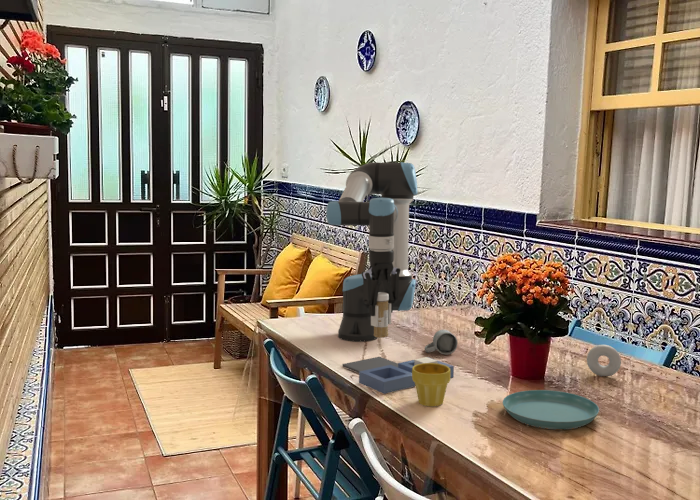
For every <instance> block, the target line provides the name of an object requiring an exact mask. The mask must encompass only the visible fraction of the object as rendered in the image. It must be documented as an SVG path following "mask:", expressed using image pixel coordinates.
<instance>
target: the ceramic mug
mask: <svg viewBox="0 0 700 500" xmlns="http://www.w3.org/2000/svg"><path fill="white" fill-rule="evenodd" d="M457 348H458V339H457V336H455V334H453V333H452V332H451V331H449V330H448V329H440V330H438V331H436V332H435V333H434V335H433V338H432V342H430V343H428V344H427V345H425V346H424V351H425V352H426V353H432V352H435V351H437V352H438V353H440V354H442V355H444V356H445V355H451V354H453V353H455V351H456V350H457Z"/></svg>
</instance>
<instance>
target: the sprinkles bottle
mask: <svg viewBox="0 0 700 500" xmlns="http://www.w3.org/2000/svg"><path fill="white" fill-rule="evenodd" d="M388 300H389V294H388V293H384V292H378V297H377V303H376V305H377V306H378V327H375V326H374V336H375V337H378V338H377V339H379V338H380V339H383V338H387V337H388V336H389V329H388V328H389V324H388Z"/></svg>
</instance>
